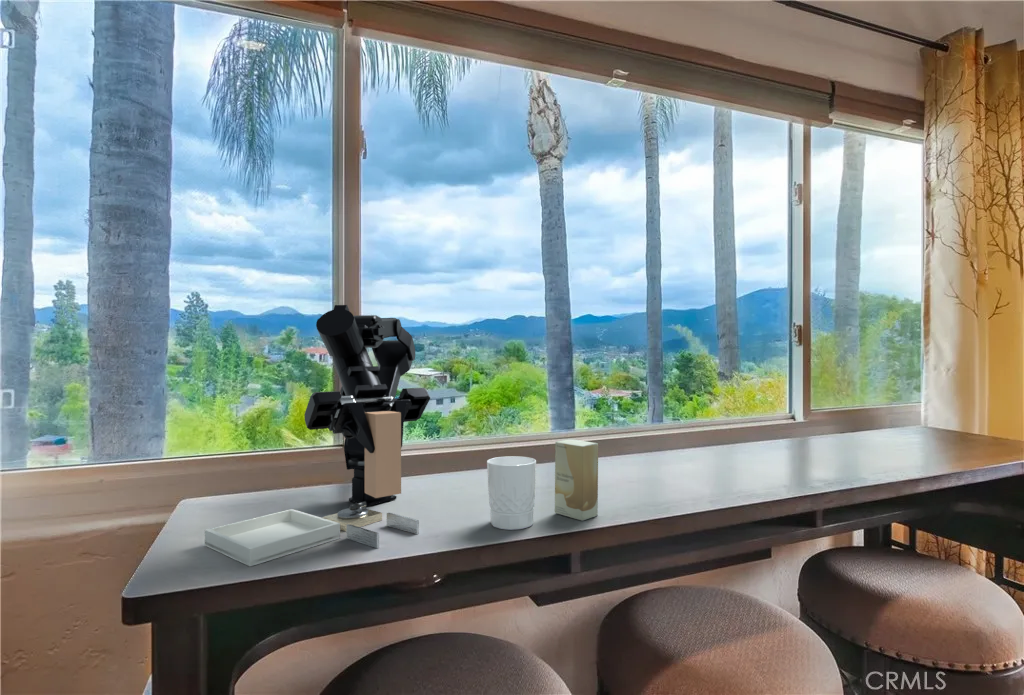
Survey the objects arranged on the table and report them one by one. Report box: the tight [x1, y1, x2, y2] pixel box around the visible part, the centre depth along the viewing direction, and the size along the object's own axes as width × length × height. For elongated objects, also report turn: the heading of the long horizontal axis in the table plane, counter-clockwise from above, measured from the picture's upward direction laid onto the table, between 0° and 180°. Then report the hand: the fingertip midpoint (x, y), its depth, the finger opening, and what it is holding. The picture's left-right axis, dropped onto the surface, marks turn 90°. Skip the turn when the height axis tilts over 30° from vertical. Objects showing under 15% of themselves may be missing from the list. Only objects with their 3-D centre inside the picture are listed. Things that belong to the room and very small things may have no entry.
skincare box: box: [554, 438, 599, 522], centre depth 88 cm, size 6×4×12 cm
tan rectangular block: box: [365, 411, 402, 498], centre depth 78 cm, size 4×4×12 cm
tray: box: [204, 508, 341, 567], centre depth 76 cm, size 13×13×2 cm
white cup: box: [486, 455, 537, 531], centre depth 83 cm, size 8×8×10 cm
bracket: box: [322, 501, 420, 549], centre depth 81 cm, size 9×16×3 cm, turn 53°
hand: (386, 449), depth 77 cm, fingers closed on tan rectangular block, 4 cm apart
